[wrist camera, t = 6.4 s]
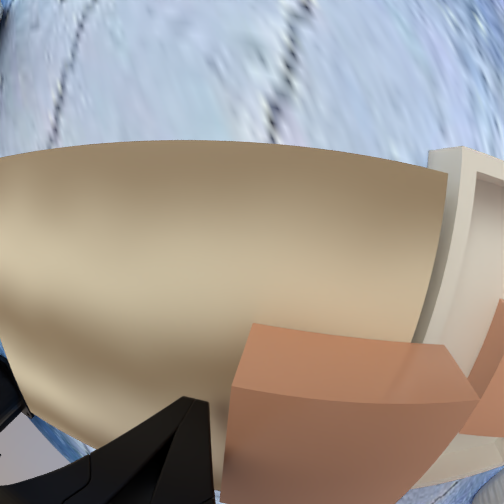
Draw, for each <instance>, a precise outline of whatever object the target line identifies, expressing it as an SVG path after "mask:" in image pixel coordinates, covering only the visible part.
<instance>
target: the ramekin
mask: <svg viewBox="0 0 504 504" xmlns="http://www.w3.org/2000/svg"><path fill="white" fill-rule="evenodd" d="M472 504H504V468H503V469H502V470H500V471H499V472H498V473H497V474H496V475H494V476H493V477H492V478H491V479H490V480H489V481H488V482H487V483H486V484H485V485H484V486H483V487H482V488H481V489H480V490H479V491H478V492H477V494H476V495H475V497H474V500H473V502H472Z"/></svg>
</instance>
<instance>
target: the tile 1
mask: <svg viewBox="0 0 504 504" xmlns="http://www.w3.org/2000/svg"><path fill="white" fill-rule="evenodd" d="M479 401H480V399H479V397H478V395H477V394H476V392H475V390H474V389H473V387H472V386H471V384H470V383H469V381H468V379H467V378H466V376H465V375H464V373H463V372H462V370H461V369H460V367H459V366H458V364H457V363H456V361H455V360H454V358H453V357H452V355H451V354H450V353H449V351H448V350H447V348H446V347H445V345H439V344H422V343H408V342H395V341H384V340H374V339H364V338H355V337H346V336H338V335H330V334H322V333H315V332H307V331H301V330H294V329H287V328H281V327H275V326H268V325H263V324H257V323H253V324H252V327H251V330H250V333H249V336H248V339H247V342H246V345H245V348H244V351H243V354H242V356H241V359H240V362H239V365H238V368H237V371H236V374H235V377H234V380H233V383H232V386H231V394H230V404H229V414H228V423H227V433H226V443H225V453H224V463H223V473H222V483H221V493H220V502H222V503H226V504H395V503H396V502H397V501H398V500H399V499H400V498H401V497H403V496H404V495H405V494H406V493H407V492H408V491H409V490H410V489H411V488H412V487H413V486H414V484H415V483H416V482H417V481H418V480H419V479H420V478H421V477H422V476H423V475H424V474H425V473H426V472H427V470H428V469H429V468H430V467H431V466H432V465H433V464H434V462H435V461H436V460H437V459H438V458H439V456H440V455H441V454H442V453H443V452H444V450H445V449H446V448H447V447H448V445H449V444H450V443H451V441H452V440H453V439H454V437H455V436H456V435H457V433H458V432H459V431H460V429H461V428H462V426H463V425H464V424H465V422H466V421H467V419H468V418H469V416H470V415H471V413H472V412H473V410H474V409H475V407H476V406H477V404H478V402H479Z"/></svg>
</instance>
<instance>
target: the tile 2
mask: <svg viewBox="0 0 504 504" xmlns="http://www.w3.org/2000/svg"><path fill="white" fill-rule="evenodd" d="M467 379H468V381H469V383H470V384H471V386H472V387H473V389H474V390H475V392H476V394H477V395H478V397H479V399H480V401H479V402H478V404H477V406H476V407H475V409H474V410H473V412H472V413H471V415H470V416H469V418H468V419H467V421H466V422H465V424H464V425H463V426H462V428H461V429H460V431H459V434H467V435H476V436H488V437H503V438H504V299H499V302H498V305H497V308H496V311H495V314H494V317H493V320H492V322H491V325H490V328H489V330H488V333H487V335H486V338H485V340H484V343H483V345H482V347H481V350H480V352H479V354H478V357H477V359H476V361H475V363H474V365H473V367H472V370H471V372H470V374H469V376H468V378H467Z"/></svg>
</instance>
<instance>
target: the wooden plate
mask: <svg viewBox="0 0 504 504" xmlns="http://www.w3.org/2000/svg"><path fill="white" fill-rule="evenodd" d="M447 181H448V173H445V172H441V171H437V170H433V169H429V168H425V167H420V166H416V165H411V164H407V163H402V162H397V161H392V160H387V159H382V158H376V157H371V156H365V155H359V154H353V153H346V152H340V151H333V150H325V149H317V148H309V147H300V146H290V145H280V144H268V143H254V142H236V141H208V140H159V141H132V142H115V143H101V144H90V145H80V146H71V147H62V148H55V149H48V150H41V151H34V152H28V153H22V154H17V155H12V156H6V157H1V158H0V339H1V342H2V345H3V348H4V351H5V353H6V356H7V359H8V361H9V364H10V367H11V369H12V372H13V374H14V377H15V379H16V381H17V384H18V386H19V388H20V391H21V393H22V395H23V397H24V399H25V401H26V403H27V405H28V407H29V409H30V411H31V412H32V413H33V414H35V415H36V416H38V417H39V418H41V419H42V420H44V421H46V422H47V423H49V424H51V425H52V426H54V427H56V428H57V429H59V430H61V431H62V432H64V433H66V434H68V435H70V436H71V437H73V438H75V439H77V440H79V441H81V442H83V443H85V444H87V445H89V446H91V447H93V448H95V449H99V448H100V447H102V446H104V445H106V444H107V443H109V442H111V441H112V440H114V439H116V438H117V437H119V436H121V435H122V434H124V433H126V432H127V431H129V430H131V429H132V428H134V427H136V426H137V425H139V424H140V423H142V422H144V421H145V420H147V419H148V418H150V417H151V416H153V415H154V414H156V413H158V412H159V411H161V410H162V409H164V408H165V407H167V406H168V405H170V404H171V403H173V402H174V401H176V400H177V399H179V398H180V397H182V396H187V397H191V398H195V399H200V400H204V401H208V402H209V404H210V428H211V448H212V465H213V479H214V490H218V491H221V483H222V473H223V463H224V453H225V443H226V433H227V423H228V414H229V404H230V394H231V386H232V383H233V380H234V377H235V374H236V371H237V368H238V365H239V362H240V359H241V356H242V354H243V351H244V348H245V345H246V342H247V339H248V336H249V333H250V330H251V327H252V324H253V323H257V324H263V325H268V326H275V327H281V328H287V329H294V330H301V331H307V332H315V333H322V334H330V335H338V336H346V337H355V338H364V339H374V340H384V341H395V342H408V343H411V341H412V338H413V335H414V332H415V329H416V326H417V323H418V320H419V317H420V314H421V310H422V307H423V304H424V300H425V297H426V293H427V289H428V286H429V282H430V278H431V274H432V270H433V265H434V261H435V256H436V252H437V247H438V242H439V237H440V231H441V225H442V219H443V213H444V206H445V198H446V190H447Z"/></svg>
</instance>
